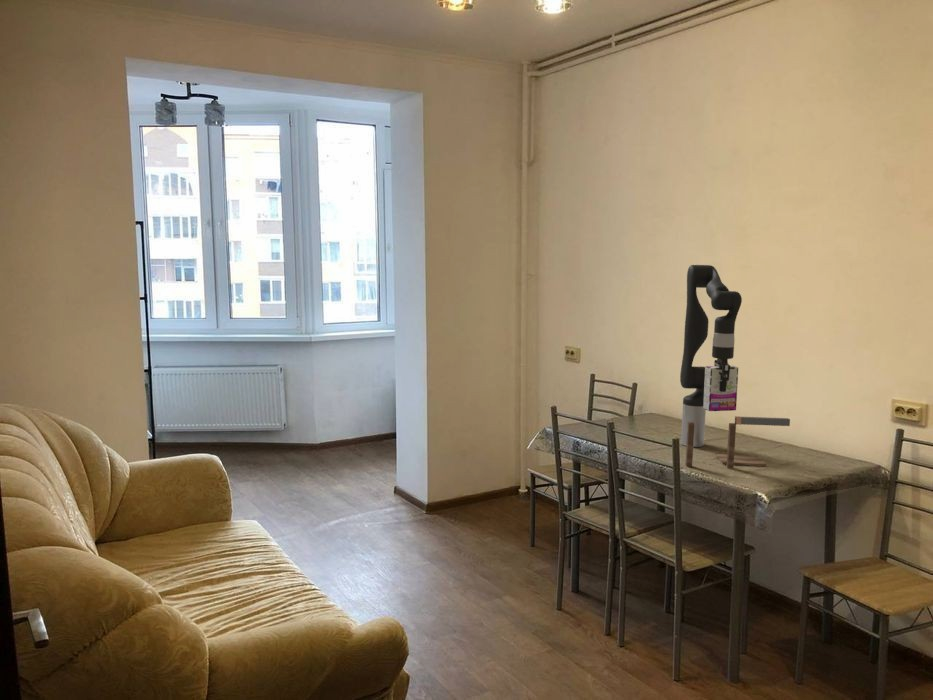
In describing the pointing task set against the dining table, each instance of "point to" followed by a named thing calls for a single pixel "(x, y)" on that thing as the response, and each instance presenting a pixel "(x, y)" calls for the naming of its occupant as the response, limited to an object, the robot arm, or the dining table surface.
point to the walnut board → (742, 460)
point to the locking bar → (762, 421)
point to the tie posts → (729, 451)
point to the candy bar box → (713, 395)
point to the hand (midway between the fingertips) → (720, 389)
